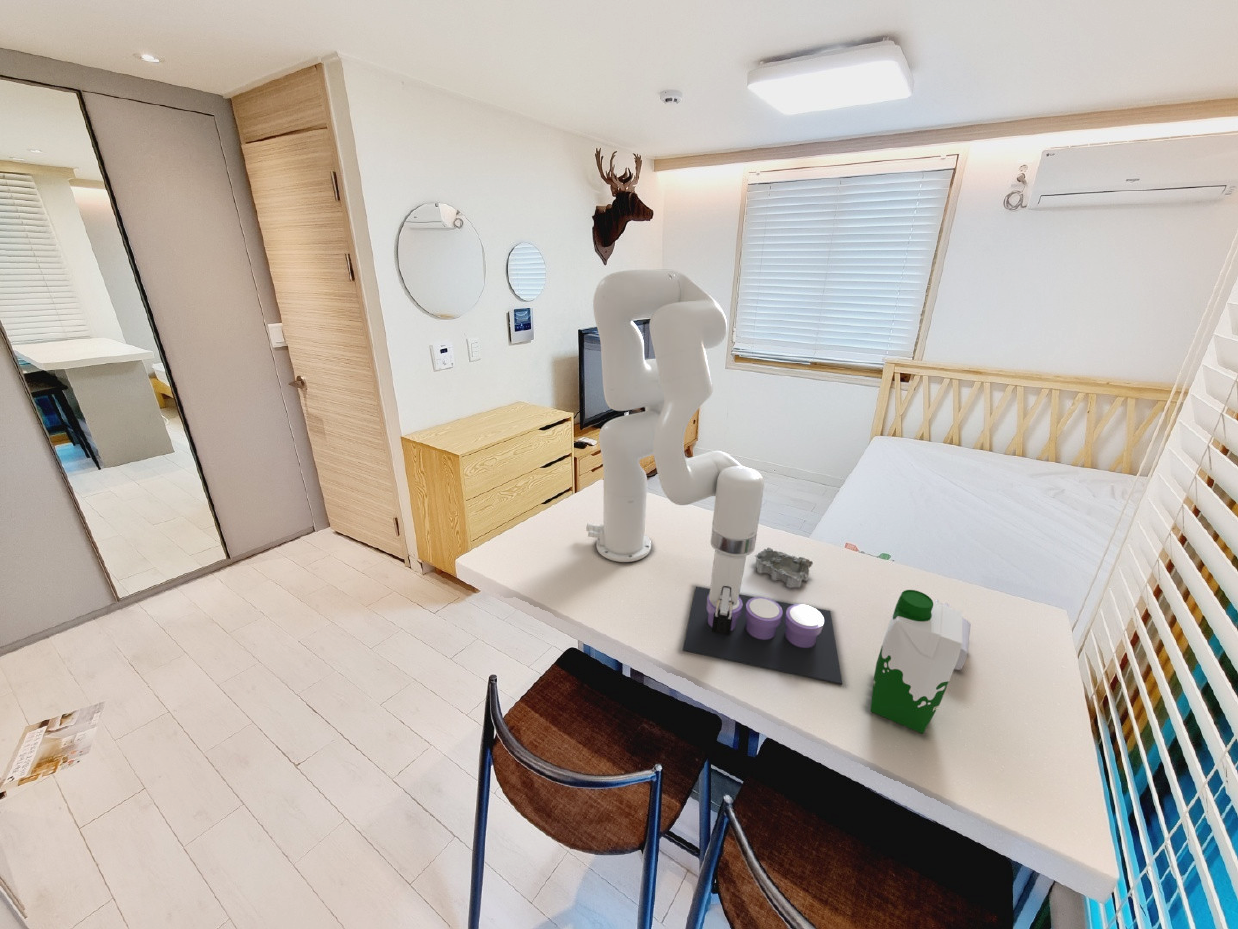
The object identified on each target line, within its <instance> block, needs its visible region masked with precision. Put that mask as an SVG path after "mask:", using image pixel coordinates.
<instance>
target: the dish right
mask: <svg viewBox="0 0 1238 929" xmlns="http://www.w3.org/2000/svg"><path fill="white" fill-rule="evenodd" d="M794 604H795V603H794ZM815 608H816V607H812V606H810V605H807V604H803V603H797V604H795V605H791V606H790V607H788V609H787V610H786V615H785V623H786V630H785V636H786V638H787V639H788V641H789V642H791V643H792V644H794V645H796V646H798V647H802V648H809V647H812V646H814V645H815V644H816V641H817V637H818V635H819V634H820V633H821V632H822V629H823V625H824V618H823V616H822V614H821V613H820V612H819V611H818V610H816V609H815Z"/></svg>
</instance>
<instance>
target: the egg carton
mask: <svg viewBox="0 0 1238 929" xmlns="http://www.w3.org/2000/svg"><path fill="white" fill-rule="evenodd" d="M754 557H755V558H756V560H755V568H756V573H759V574H768V575H770V576H771V578H770V579H771V580H773V581H782V582H784V583H785V584H786V585H785V586H786V587H787V588H800V587H801V585H802V581H805V582H806V581H808V580H809V575H810V568H811V567H812V566H813V565H814V563H813V561H812V560H810V559H808V558H805V557H803V556H802V557H801V556H799V557H797V556H795V555H790V554H787V553H786V552H782V551H777V550H773V548H772V547H769V546H768V547H767V548H764V549H763V550H762V551H760V552H758V553H757V554H755V555H754Z"/></svg>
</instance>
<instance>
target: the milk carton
mask: <svg viewBox="0 0 1238 929" xmlns="http://www.w3.org/2000/svg"><path fill="white" fill-rule="evenodd" d="M942 604H943V603H940V602H939V601H938V602H935V600H933V599H932V598H931V597H930V596H929V595H927V594H925V593H923V592H921V591H919V590H916V589H906V590H903V591H901V592H900V594H899V597H898V600H897V602H896V604H895V608H894V610H893V613H892V614H891V618H890V620H889V622H888V626H887V628H886V631H885V634H884V637H883V641H882V643H881V646H880V651H879V654H878V656H877V660H876V664H875V670H874V675H873V680H872V681H873V682H872V690H871V701H870V702H871V703H870V712H871V713H874V714H876V715H878V716H881V717H883V718H885V719H888V720H889V721H892V722H894V723H896V724H898V725H901V726H904V727H905V728H908V729H910V730H913V731H915V732H918V733H919V734H922V735H923V734H924V733H925V731H926V729H927V728H928V726H929V724H930V722H931V721H932V719H933V717H934V715H935V714H936V712H937V710H938V708H939V707H940V704H941V702H942V700H943V698H944V695H945V692H946V690H947V689H948V688H947V687H948V685H949V684H950V680H951V678H952V675H953V673H954V671H955V669H954V668H955V665H956V663H957V660H958V658H959V654H960V650H961V646H962V617H963V610H959V609H956V608H954V607H951V606H949V607H947V606H944V605H945V604H944V605H942ZM950 607H951V608H950Z"/></svg>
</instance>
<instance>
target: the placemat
mask: <svg viewBox="0 0 1238 929" xmlns="http://www.w3.org/2000/svg"><path fill="white" fill-rule="evenodd" d="M709 594H710V588H707V587H702V586H695V589H694V594H693V600H692V604H691V608H690V614H689V618H688V623H687V628H686V633H685V638H684V642H683V647H682V651H683V652H687V653H692V654H695V655H696V654H697V655H701V656H705V657H710V658H716V659H720V660H724V661H730V662H734V663H739V664H743V665H749V666H752V667H757V668H762V669H766V670H772V671H776V672H781V673H786V674H791V675H794V676H795V675H796V676H799V677H800V676H801V677H805V678H810V679H813V680H819V681H824V682H828V683H833V684H836V685H837V684H838V685H843V679H842V673H841V672H842V671H841V668H840V667H841V666H840V661H839V655H838V648H837V643H836V636H835V630H834V626H833V624H834V623H833V619H832V613H831V610H829V609H823V608H822V609H821V608H817V607H814V608H815V609H816V610H818V611H819V612H820V613H821V614H822V616H823V618H824V625H823V629H822V632H821V633H820V634H819V635H818V637H817V641H816V644H815V645H814V646H812V647H809V648H802V647H798V646H796V645H794V644H792V643H791V642H789V641H788V639H787V638H786V636H785V630H786V623H785V615H786V610H787V609H788V607H790V606H791V605H795V603H789V602H785V601H779V600H774V601H775V602H776V603H778V604H779V605H780V607H781V608H782V611H783V614H782V619H781V623H780V624H779V625H778V626H777V629H776V634H775V636H774V637H773V638H771V639H767V640H762V639H758V638H755V637H753V636H752V635H750V634H749V633H748V632H747V630H746V620H747V618H746V616H745V608H746V603H747V601H748V600H750V599H751V598H755V597H756V596H751V595H745V594H740V593H739V597H740V599H741V600H742V603H743V605H742V612H741V615H740V616H739V617H738V619H737V626H736V627H735V629H733V630H732V631H730V635H724V634H719V633H714V632H712V627H711V626H710V625H709V623H708V620H707V619H708V611H707V608H706V604H707V597H708V595H709Z"/></svg>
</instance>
